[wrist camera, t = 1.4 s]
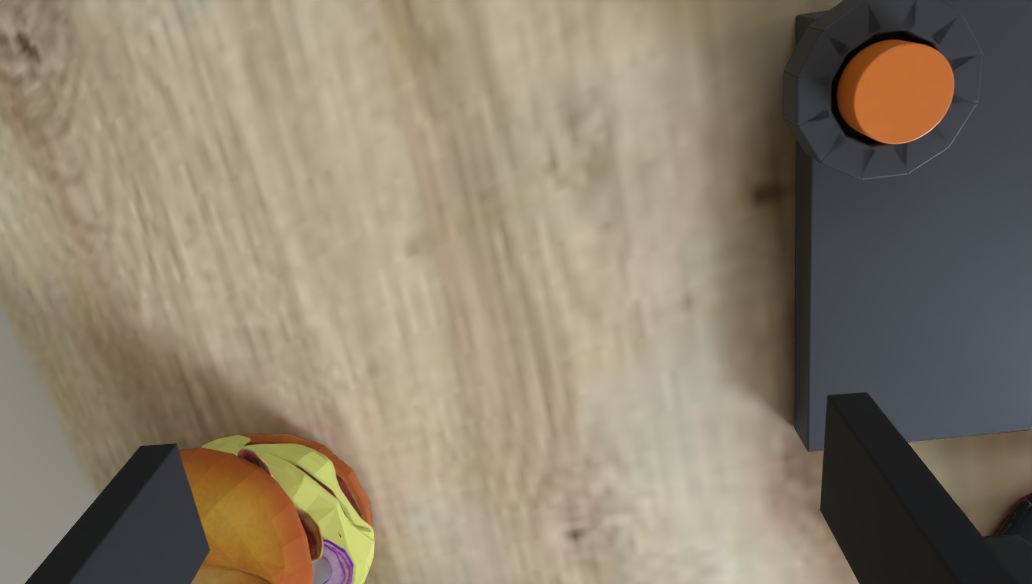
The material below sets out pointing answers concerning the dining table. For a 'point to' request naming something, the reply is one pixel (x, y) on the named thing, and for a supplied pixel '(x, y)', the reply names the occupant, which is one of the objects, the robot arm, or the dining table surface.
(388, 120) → the dining table surface
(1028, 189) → the scale
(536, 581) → the dining table surface
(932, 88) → the button
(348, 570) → the cheeseburger
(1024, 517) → the handheld console
